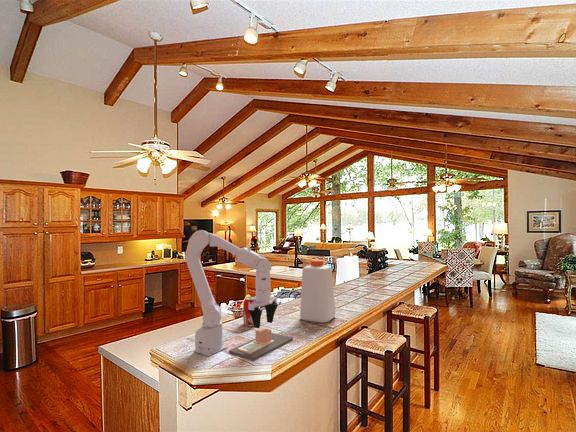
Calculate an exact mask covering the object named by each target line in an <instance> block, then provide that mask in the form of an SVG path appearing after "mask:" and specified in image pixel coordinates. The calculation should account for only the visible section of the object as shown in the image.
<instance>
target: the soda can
mask: <svg viewBox="0 0 576 432" xmlns="http://www.w3.org/2000/svg"><path fill="white" fill-rule="evenodd" d="M254 301H256V296H246V297H244V300H243V302H242V306H243V307H242V315H243V316H242V319H243V324H244V325H245V326H247V327H252V326H253V327H254V324H253V320H252V317H251V315H250V313H249V312H248V308H249V304H251V303H253V302H254ZM258 309H259V310H260V307H259V308H258Z"/></svg>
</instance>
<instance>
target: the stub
mask: <svg viewBox="0 0 576 432" xmlns="http://www.w3.org/2000/svg"><path fill="white" fill-rule="evenodd" d="M272 333H273V332H272V329H269V328H264V327H260V328H256V329H255V338H256V340H255V341H253V342H256V343H260V344H264V345H265V346H267V345H269V344H271V343H273V342H274V340H272Z"/></svg>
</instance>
